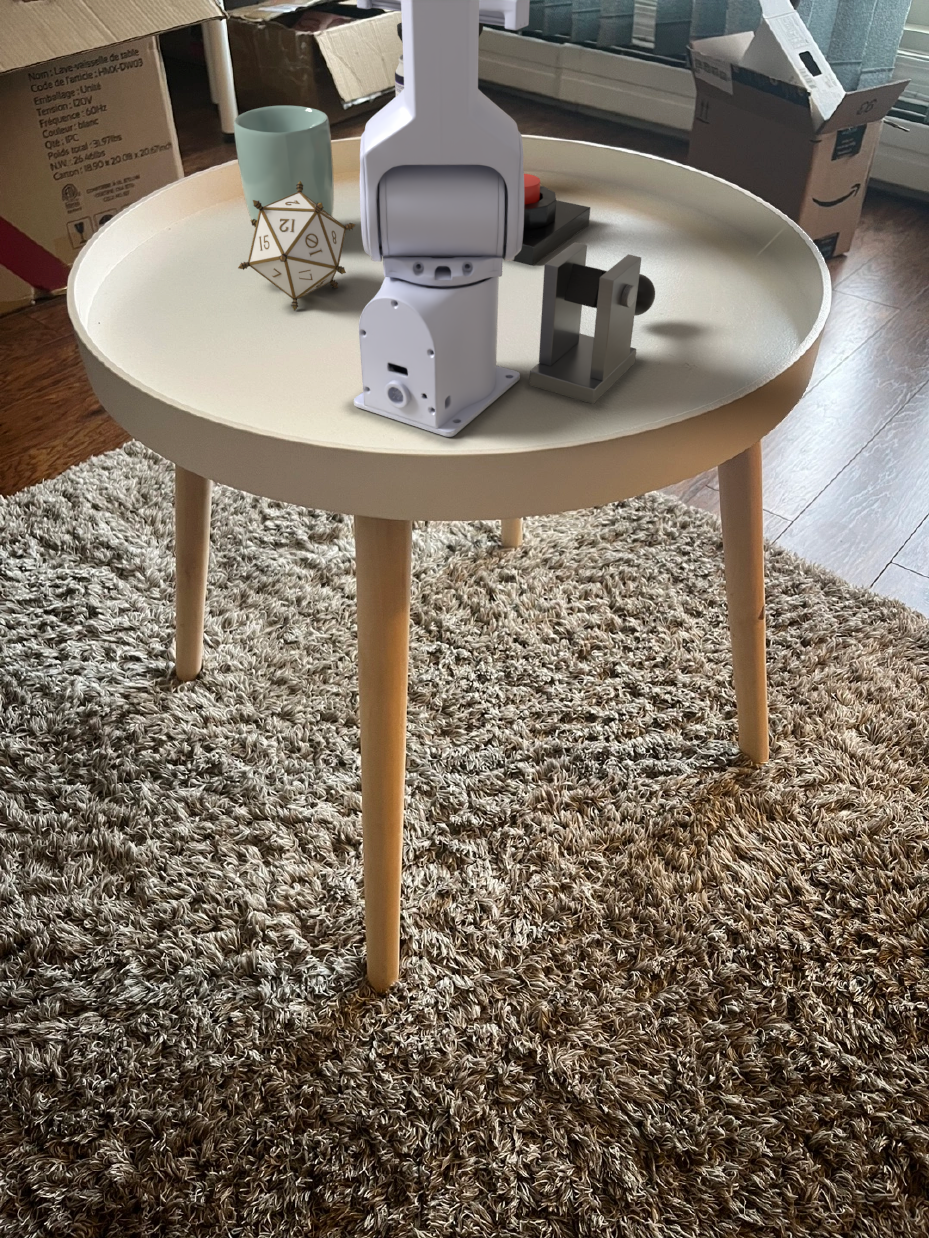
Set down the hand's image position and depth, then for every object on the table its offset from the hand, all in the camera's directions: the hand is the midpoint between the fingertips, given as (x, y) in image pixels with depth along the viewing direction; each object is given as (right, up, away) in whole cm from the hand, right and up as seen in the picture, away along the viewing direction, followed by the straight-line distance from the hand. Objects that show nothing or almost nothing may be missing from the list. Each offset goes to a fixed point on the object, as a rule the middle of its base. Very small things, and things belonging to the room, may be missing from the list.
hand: (441, 118), depth 82 cm
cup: (-13, -7, +8) cm, 17 cm away
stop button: (+7, -4, +6) cm, 10 cm away
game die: (-11, -15, -1) cm, 19 cm away
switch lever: (+12, -19, -11) cm, 25 cm away
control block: (+7, -6, +9) cm, 13 cm away
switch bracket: (+10, -24, -11) cm, 28 cm away
